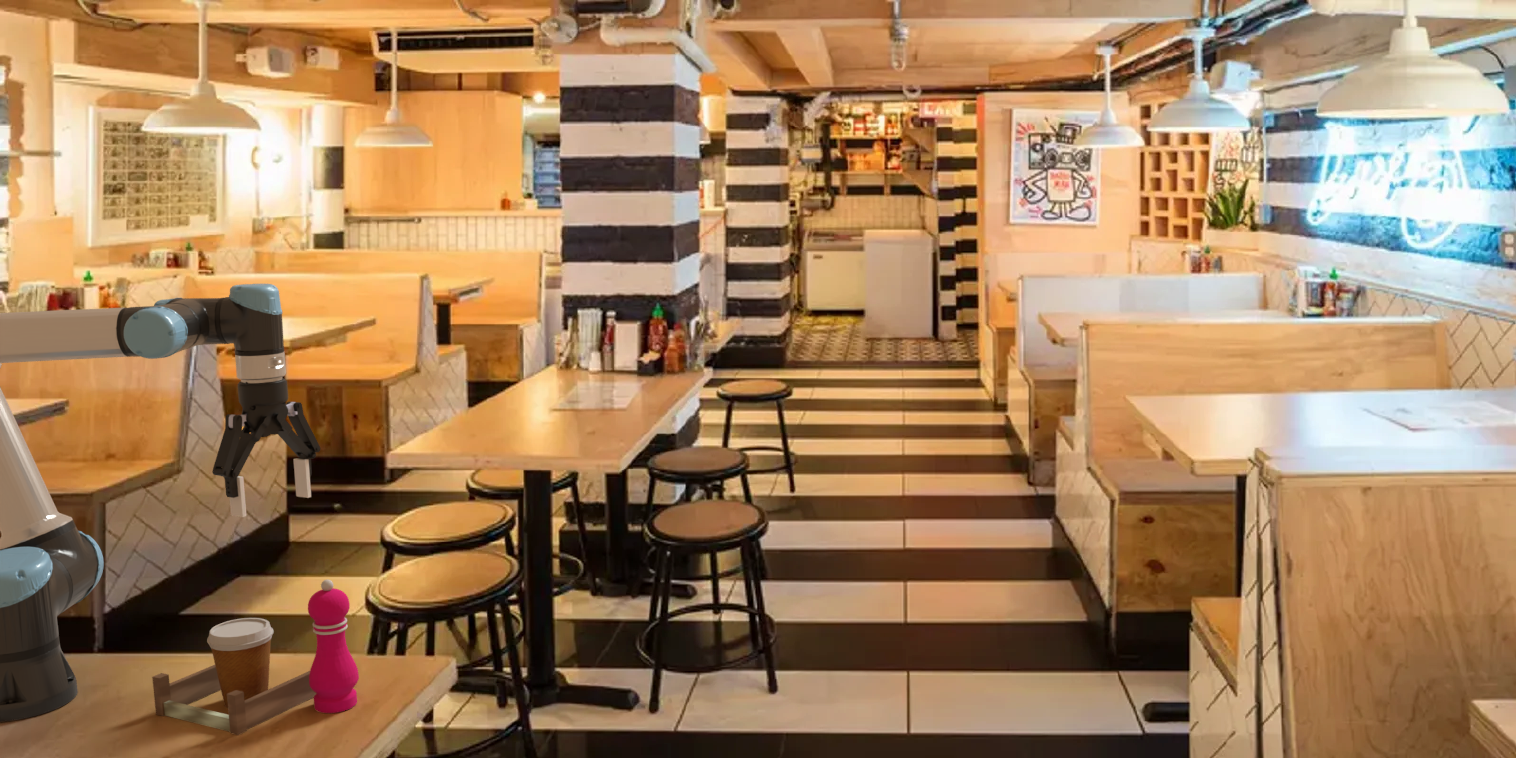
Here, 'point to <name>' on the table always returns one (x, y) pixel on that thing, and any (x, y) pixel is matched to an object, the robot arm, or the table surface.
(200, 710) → the bay
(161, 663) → the table surface
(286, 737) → the table surface
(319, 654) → the pepper mill
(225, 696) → the disposable coffee cup
